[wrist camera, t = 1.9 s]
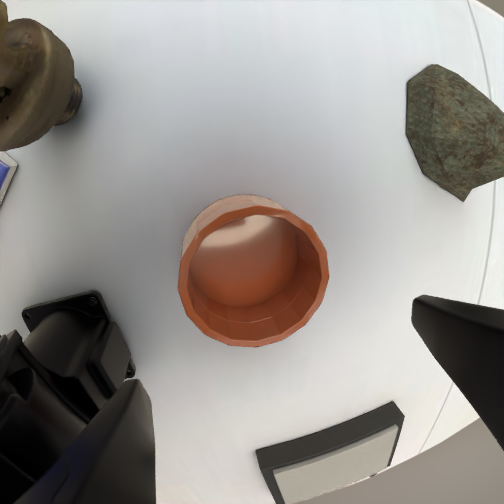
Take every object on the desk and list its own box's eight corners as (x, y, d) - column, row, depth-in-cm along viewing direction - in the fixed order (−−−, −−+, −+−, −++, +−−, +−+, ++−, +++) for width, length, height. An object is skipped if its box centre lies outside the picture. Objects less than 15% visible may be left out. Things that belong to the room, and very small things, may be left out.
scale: (273, 492, 27) (279, 511, 24) (255, 450, 23) (261, 475, 20) (381, 453, 28) (391, 470, 25) (393, 400, 24) (408, 420, 22)
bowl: (200, 320, 18) (203, 360, 14) (168, 211, 16) (158, 229, 12) (308, 291, 18) (333, 324, 15) (290, 182, 16) (318, 191, 12)
